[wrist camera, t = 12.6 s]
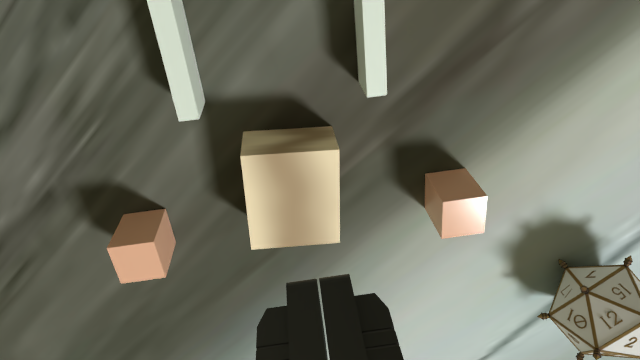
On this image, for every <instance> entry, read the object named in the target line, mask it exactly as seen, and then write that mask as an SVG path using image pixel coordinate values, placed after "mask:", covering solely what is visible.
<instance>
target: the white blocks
mask: <svg viewBox="0 0 640 360" xmlns="http://www.w3.org/2000/svg"><path fill="white" fill-rule="evenodd" d="M147 3H148V7H149V10H150V14H151V18H152V22H153V25H154V29H155V33H156V37H157V41H158V44H159V48H160V52H161V56H162V59H163V63H164V67H165V71H166V74H167V78H168V82H169V86H170V90H171V93H172V97H173V101H174V105H175V108H176V112H177V116H178V120H179V122H180V121H188V120H196V119H200V116H201V113H202V110H203V107H204V104H205V98H204V94H203V89H202V85H201V81H200V76H199V72H198V68H197V63H196V59H195V55H194V50H193V46H192V42H191V37H190V33H189V29H188V24H187V20H186V16H185V11H184V7H183V3H182V0H147ZM354 12H355V29H356V45H357V62H358V79H359V84H360V86H361V87H362V89H363V91H364V93H365V95H366V96H367V97H375V96H383V95H387V78H386V44H385V10H384V0H354Z"/></svg>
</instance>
